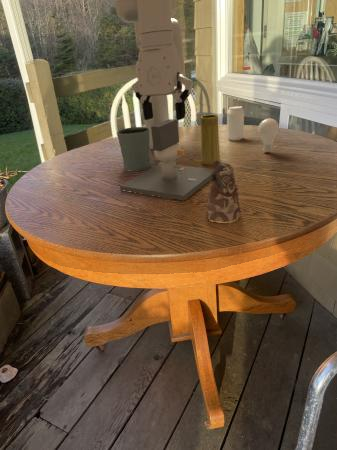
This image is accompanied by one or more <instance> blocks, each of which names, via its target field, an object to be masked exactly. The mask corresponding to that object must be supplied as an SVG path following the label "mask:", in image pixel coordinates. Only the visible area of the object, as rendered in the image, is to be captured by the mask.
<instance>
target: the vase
mask: <svg viewBox="0 0 337 450" xmlns="http://www.w3.org/2000/svg"><path fill="white" fill-rule="evenodd" d="M200 137H201V138H200V140H201V141H200V143H201V146H200V147H201V150H200V151H201V160H200V163H201V164H203V165H205V166H206V165H207V166H208V165H209V166H210V165H211V166H214V165H213V162H214V161H215V160H217V161H218V163H219V164H220V162H221V157H220V138H219V115H217V114H204V115H201V116H200Z"/></svg>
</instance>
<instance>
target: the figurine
mask: <svg viewBox="0 0 337 450" xmlns="http://www.w3.org/2000/svg"><path fill="white" fill-rule="evenodd" d="M212 166H213V169H214V171H213V172H212V179H211V182H212V184H211V186H210V187H209V189H208V193H207V198H206V199H207V201H206V212H205V214H206V218H207V217H208V218H207V220H208V219H210V220H213V221H221V222H230V221H234V220H236V219H237V218H238V217H239V216H240V215H241V206H240V199H239V185H238V184H236V177H235V175H234V167H233V166H232V165H230V164H229V163H227V162H221V163H220V162H219V163H218V161H217V160H215V161H214V162H213V165H212ZM240 217H241V216H240Z"/></svg>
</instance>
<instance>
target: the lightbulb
mask: <svg viewBox="0 0 337 450" xmlns="http://www.w3.org/2000/svg"><path fill="white" fill-rule="evenodd" d="M257 131H258V135H259V136H260V137H261V140H262V141H261V142H262V144H263V152H264V153H265V154H269V153H271V152H272V149H273V148H272V147H273V143H274V139H275V138H276V137H277V135H278V134H279V131H280V125H279V122H278V121H277V120H276V119H274V118H271V117H270V118H269V117H268V118H265V119H263V120H261V122H260V123H259V125H258V129H257Z"/></svg>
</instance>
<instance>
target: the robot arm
mask: <svg viewBox="0 0 337 450" xmlns="http://www.w3.org/2000/svg"><path fill="white" fill-rule="evenodd" d="M175 2H176V0H114V7H115V12H116V14H117V16H118V18H119V20H121V21H122V22H123V23H127V24H133V26H134V35H135V41H136V46H137V49H138V50H139V51H138V57H137V58H138V59H137V61H136V64H135V73H136V79H137V80H136V81H135V82H134V83H132V85H131V88H132V90H133V92H134V94H135V97H136V98H137V99H138V100H139V103H140V104H141V105H142V113H143V120H144V127H146V128H149V136H150V143H149V146H150V150H154V148H153V140H152V131H151V126H154V125H157V124H159V123H162V122H164V121H167V120H169V119H170V113H169V104H168V103H169V101H168V98H167V97H168V96H169V95H172V97H173V98H174V99H175V101H176V102H175V104H174V107H175V119H177V120H178V121H181V120H183V119H185V118H186V101H187V100H188V97H189V96H190V95H191V92H192V89H193V86H194V83H195V82H194V81H193V80H192V79H190V78H189V77H187V76H185V73H186V70H185V68H186V67H185V58H184V46H183V45H184V44H183V35H182V34H183V33H182V28H181V25H180V22H179V21H178V20H177V19H175V18H172V14H173V12H174V11H175V8H176V5H175V4H176V3H175ZM183 85H184V89H183ZM182 90H183V91H182Z"/></svg>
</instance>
